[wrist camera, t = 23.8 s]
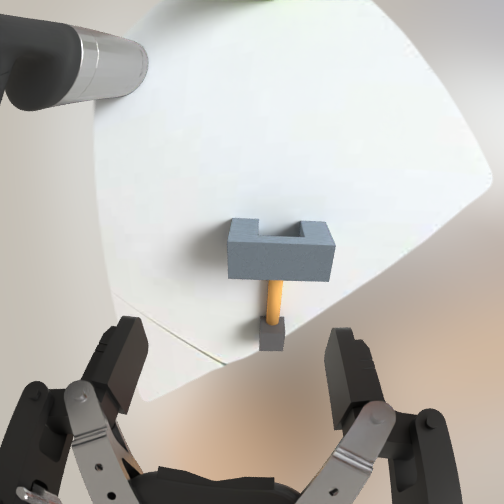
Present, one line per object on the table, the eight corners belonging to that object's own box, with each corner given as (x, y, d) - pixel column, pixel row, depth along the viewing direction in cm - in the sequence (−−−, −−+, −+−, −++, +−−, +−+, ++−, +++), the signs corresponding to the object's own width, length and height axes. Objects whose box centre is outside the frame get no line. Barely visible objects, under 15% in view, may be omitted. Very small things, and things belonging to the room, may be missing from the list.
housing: (233, 251, 48) (228, 278, 42) (232, 218, 45) (227, 241, 39) (320, 254, 48) (328, 281, 41) (325, 222, 45) (335, 245, 38)
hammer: (259, 334, 58) (259, 350, 54) (263, 263, 49) (263, 279, 45) (281, 334, 58) (282, 351, 54) (289, 264, 49) (292, 280, 45)
